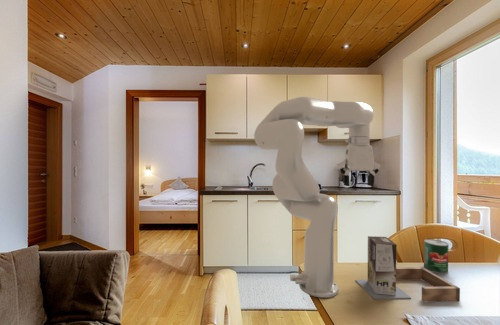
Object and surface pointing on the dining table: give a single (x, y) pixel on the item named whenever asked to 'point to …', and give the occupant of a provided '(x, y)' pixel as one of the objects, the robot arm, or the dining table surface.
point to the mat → (370, 291)
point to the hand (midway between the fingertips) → (358, 185)
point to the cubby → (440, 289)
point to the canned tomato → (436, 256)
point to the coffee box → (382, 265)
